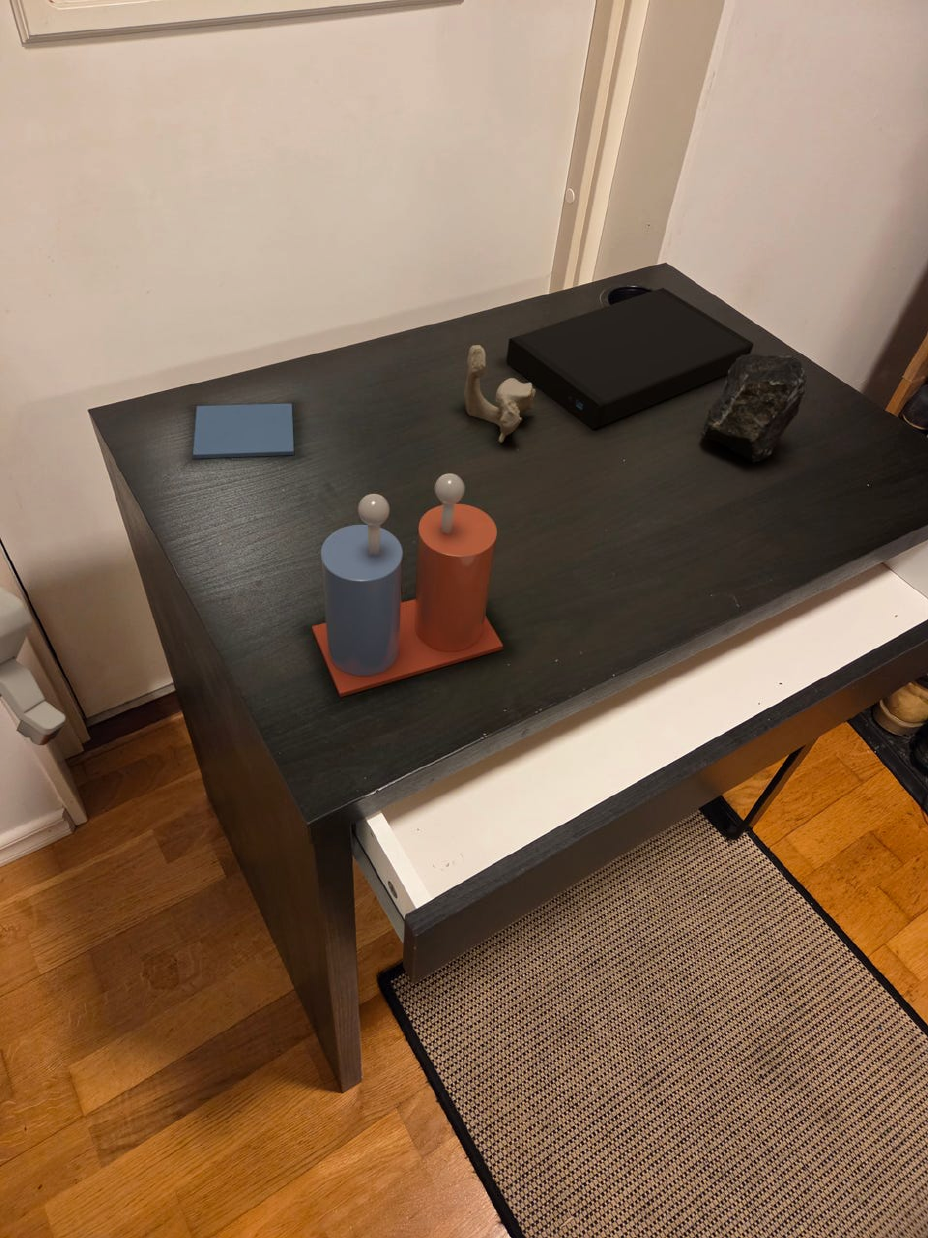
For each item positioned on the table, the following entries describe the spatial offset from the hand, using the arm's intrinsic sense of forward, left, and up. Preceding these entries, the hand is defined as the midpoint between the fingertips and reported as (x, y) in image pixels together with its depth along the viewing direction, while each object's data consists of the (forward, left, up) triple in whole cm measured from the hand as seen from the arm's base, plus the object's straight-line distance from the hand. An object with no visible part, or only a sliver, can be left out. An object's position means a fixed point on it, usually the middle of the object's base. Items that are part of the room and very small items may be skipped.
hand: (28, 785), depth 52 cm
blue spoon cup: (+21, +10, -2) cm, 24 cm away
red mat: (+25, +11, -2) cm, 27 cm away
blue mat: (+12, +38, -2) cm, 40 cm away
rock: (+60, +33, -2) cm, 69 cm away
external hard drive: (+53, +48, -2) cm, 72 cm away
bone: (+37, +38, -2) cm, 54 cm away
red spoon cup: (+28, +12, -2) cm, 31 cm away
